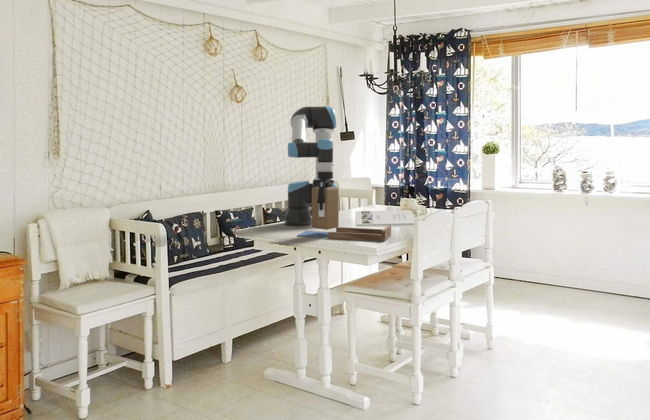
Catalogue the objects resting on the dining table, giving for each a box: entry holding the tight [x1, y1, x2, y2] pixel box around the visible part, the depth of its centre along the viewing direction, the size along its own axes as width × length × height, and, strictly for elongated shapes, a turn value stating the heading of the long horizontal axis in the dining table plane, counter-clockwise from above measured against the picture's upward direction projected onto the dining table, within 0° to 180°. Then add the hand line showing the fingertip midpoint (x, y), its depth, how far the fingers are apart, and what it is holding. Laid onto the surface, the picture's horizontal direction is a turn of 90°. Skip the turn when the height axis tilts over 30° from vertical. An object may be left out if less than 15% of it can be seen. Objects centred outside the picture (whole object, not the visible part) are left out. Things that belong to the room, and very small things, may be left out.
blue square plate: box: [297, 230, 329, 239], centre depth 315 cm, size 14×14×1 cm
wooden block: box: [311, 186, 340, 230], centre depth 312 cm, size 10×10×20 cm
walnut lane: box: [327, 225, 392, 242], centre depth 309 cm, size 16×28×5 cm, turn 74°
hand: (325, 214), depth 313 cm, fingers closed on wooden block, 12 cm apart
